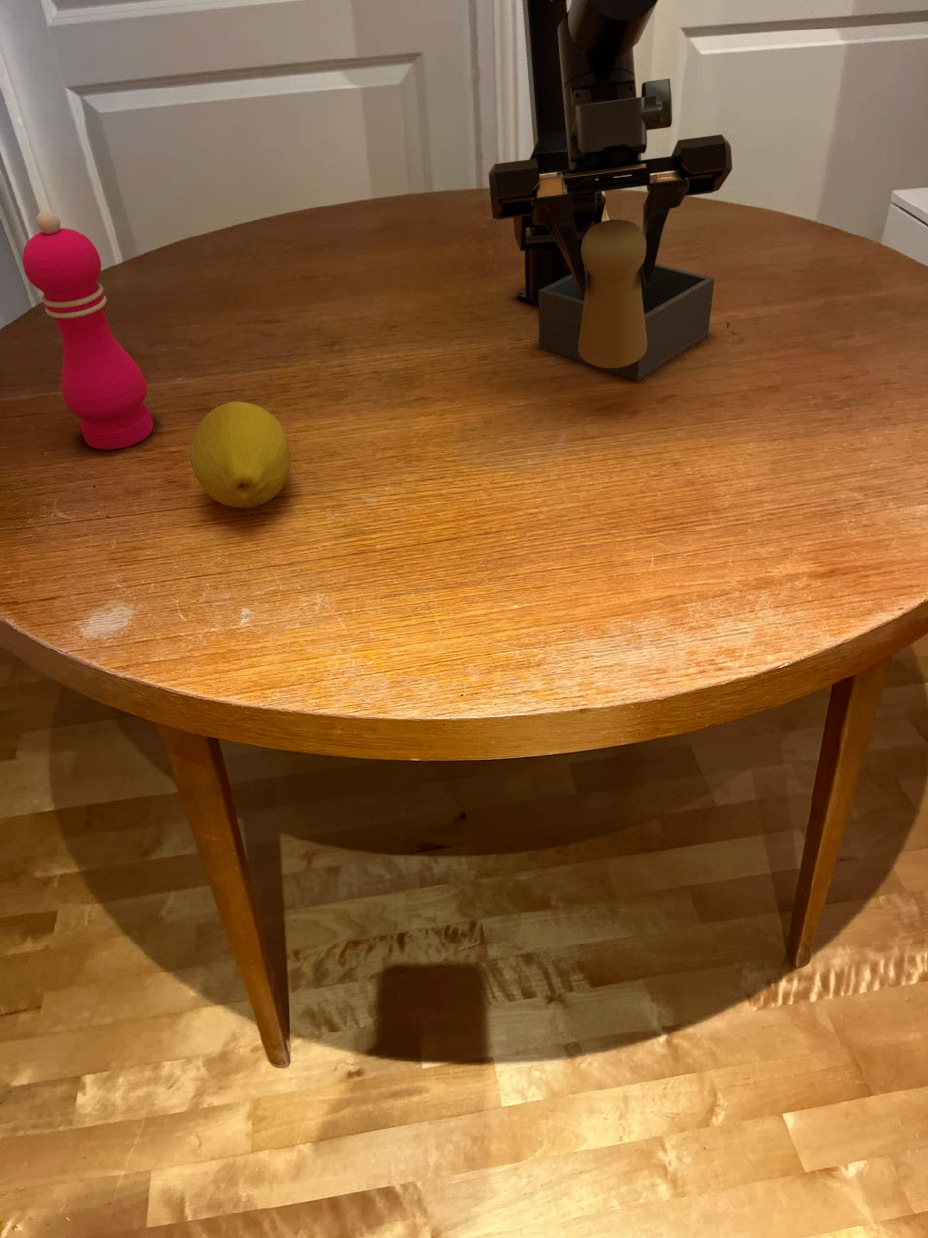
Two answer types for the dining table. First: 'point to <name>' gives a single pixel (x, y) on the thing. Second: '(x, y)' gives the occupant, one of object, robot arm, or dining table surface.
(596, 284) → the cork
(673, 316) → the open box
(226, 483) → the lemon
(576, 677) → the dining table surface
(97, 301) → the pepper mill
